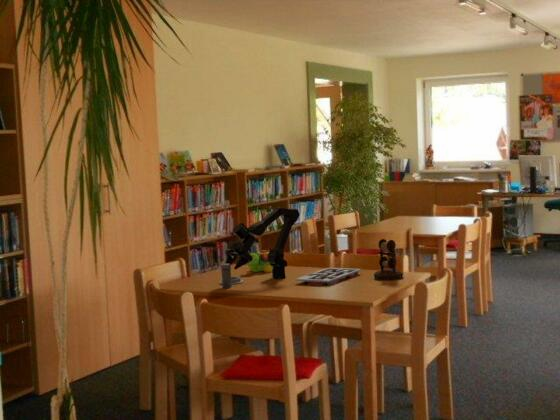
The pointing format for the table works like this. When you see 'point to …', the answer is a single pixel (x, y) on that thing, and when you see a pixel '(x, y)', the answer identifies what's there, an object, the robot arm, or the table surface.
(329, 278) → the maze game
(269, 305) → the table surface
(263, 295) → the table surface
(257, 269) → the turtle toy
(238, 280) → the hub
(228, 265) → the knob
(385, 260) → the dark figurine on base
